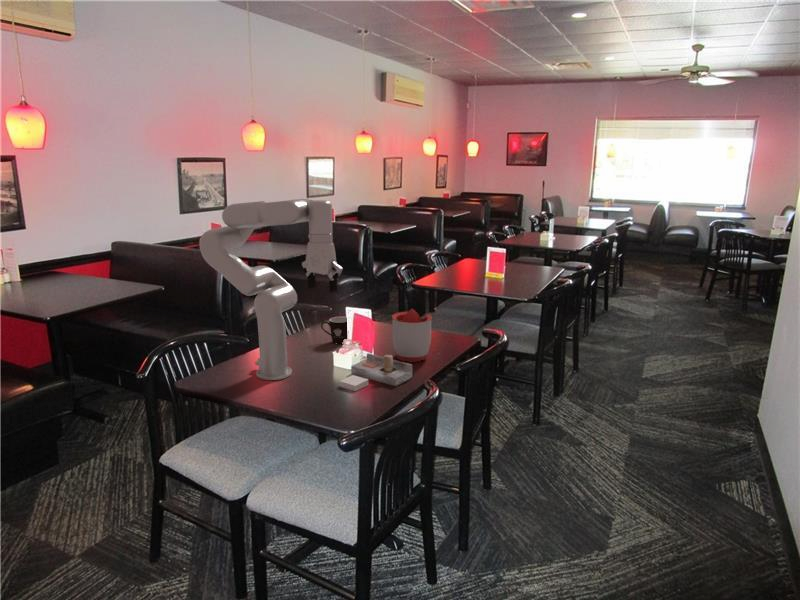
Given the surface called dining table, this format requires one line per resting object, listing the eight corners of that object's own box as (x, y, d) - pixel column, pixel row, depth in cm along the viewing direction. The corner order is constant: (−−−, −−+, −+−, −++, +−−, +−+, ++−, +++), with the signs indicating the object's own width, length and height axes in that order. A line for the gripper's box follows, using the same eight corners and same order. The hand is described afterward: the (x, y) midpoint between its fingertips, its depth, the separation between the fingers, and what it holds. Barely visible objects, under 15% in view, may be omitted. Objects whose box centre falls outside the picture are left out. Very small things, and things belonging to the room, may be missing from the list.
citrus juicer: (440, 355, 224) (442, 306, 220) (417, 367, 210) (418, 316, 206) (408, 347, 233) (408, 301, 228) (383, 359, 219) (383, 310, 214)
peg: (381, 377, 200) (381, 356, 198) (387, 375, 203) (387, 354, 201) (388, 379, 198) (389, 358, 196) (394, 377, 201) (394, 356, 199)
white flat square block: (339, 386, 192) (339, 381, 192) (352, 380, 198) (352, 374, 197) (355, 391, 188) (355, 385, 188) (368, 384, 194) (368, 379, 193)
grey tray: (351, 373, 204) (351, 360, 203) (368, 365, 212) (368, 353, 211) (395, 386, 193) (396, 372, 192) (412, 377, 201) (412, 364, 199)
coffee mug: (354, 341, 240) (353, 318, 238) (341, 346, 233) (341, 323, 231) (332, 336, 246) (332, 314, 244) (320, 341, 239) (319, 319, 237)
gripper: (293, 237, 185) (295, 288, 189) (333, 242, 175) (334, 295, 180) (309, 235, 191) (311, 284, 195) (348, 239, 181) (349, 291, 186)
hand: (322, 289), depth 187 cm, fingers open, 9 cm apart
